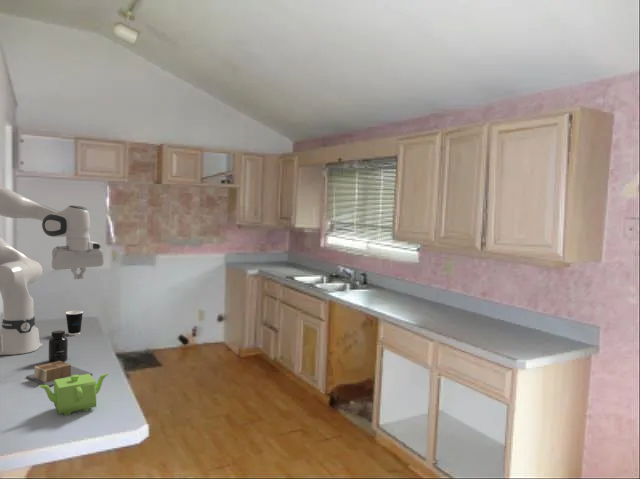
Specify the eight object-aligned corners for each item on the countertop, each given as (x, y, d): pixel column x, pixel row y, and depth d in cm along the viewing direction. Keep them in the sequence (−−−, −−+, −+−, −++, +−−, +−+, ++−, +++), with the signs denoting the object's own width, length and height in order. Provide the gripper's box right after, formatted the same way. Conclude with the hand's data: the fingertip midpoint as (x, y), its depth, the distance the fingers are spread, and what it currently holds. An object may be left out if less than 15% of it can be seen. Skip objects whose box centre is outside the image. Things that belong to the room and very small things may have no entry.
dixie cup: (73, 331, 244) (72, 310, 243) (86, 332, 242) (86, 311, 242) (61, 335, 236) (61, 313, 236) (76, 336, 235) (75, 314, 234)
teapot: (37, 417, 144) (37, 381, 144) (64, 399, 158) (64, 367, 157) (87, 419, 143) (86, 384, 143) (109, 402, 157) (109, 369, 156)
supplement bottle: (59, 363, 193) (59, 334, 193) (44, 362, 195) (44, 333, 194) (71, 358, 200) (71, 330, 199) (57, 357, 201) (56, 329, 201)
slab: (59, 371, 183) (34, 377, 176) (59, 360, 183) (34, 366, 176) (70, 375, 179) (45, 382, 171) (70, 364, 178) (45, 371, 171)
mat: (26, 377, 177) (26, 375, 177) (70, 366, 190) (69, 365, 190) (48, 387, 168) (48, 385, 168) (92, 375, 181) (92, 373, 181)
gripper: (56, 247, 188) (56, 282, 189) (105, 244, 205) (105, 277, 206) (48, 246, 192) (48, 280, 193) (97, 244, 209) (97, 275, 210)
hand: (78, 278), depth 200 cm, fingers closed
